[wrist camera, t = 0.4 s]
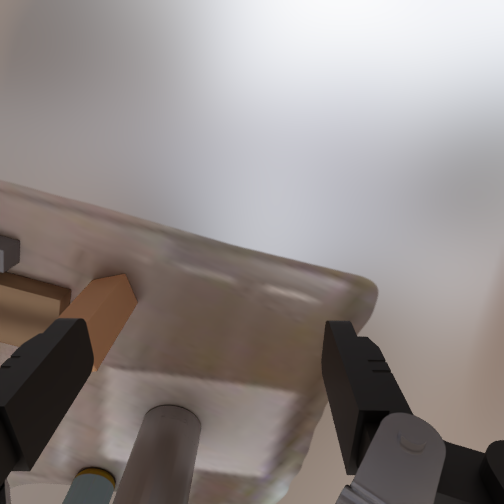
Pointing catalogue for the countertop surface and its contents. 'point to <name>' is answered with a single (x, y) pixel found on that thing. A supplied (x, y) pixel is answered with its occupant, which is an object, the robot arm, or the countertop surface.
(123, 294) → the light brown brick
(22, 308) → the walnut block
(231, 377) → the countertop surface
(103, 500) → the bottle
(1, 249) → the charcoal brick
